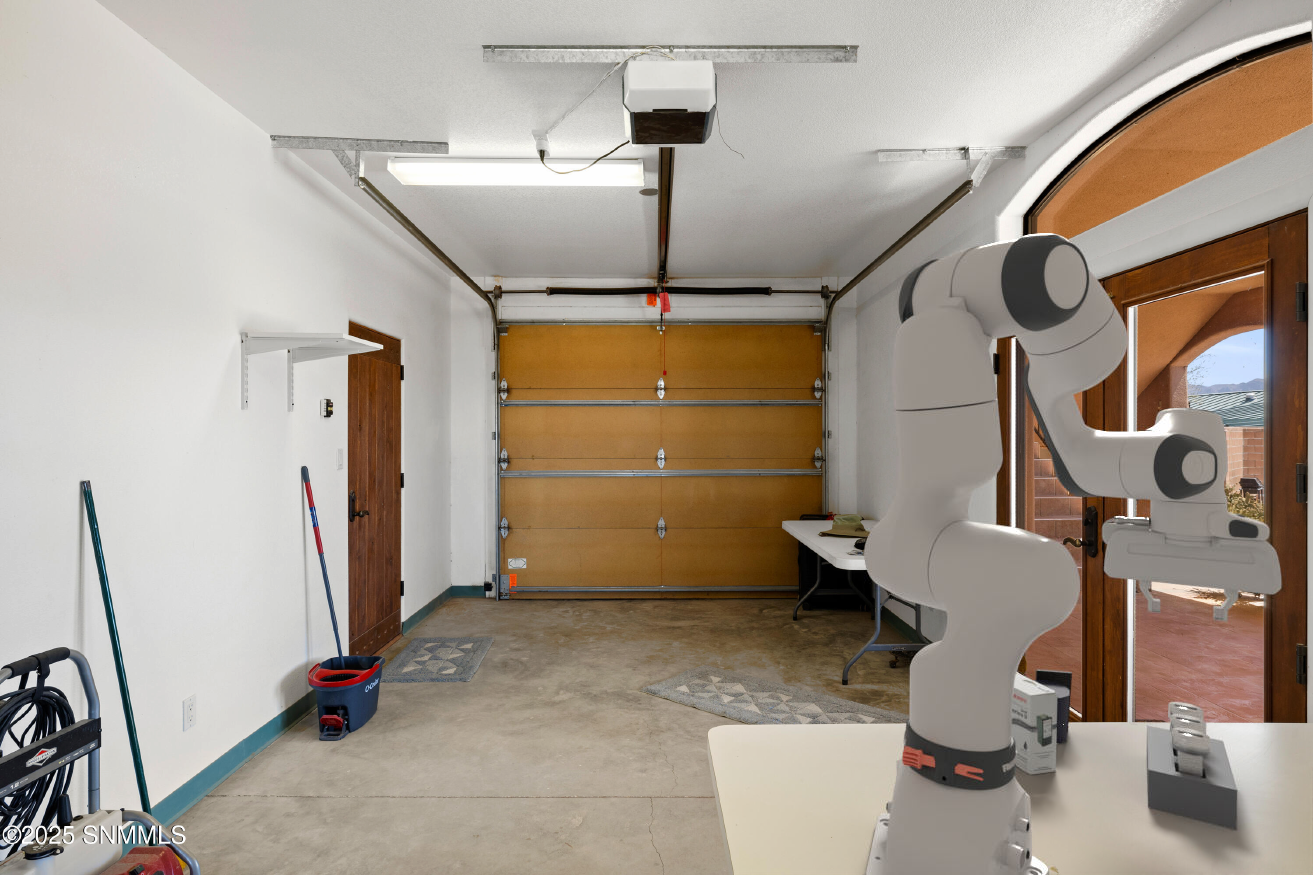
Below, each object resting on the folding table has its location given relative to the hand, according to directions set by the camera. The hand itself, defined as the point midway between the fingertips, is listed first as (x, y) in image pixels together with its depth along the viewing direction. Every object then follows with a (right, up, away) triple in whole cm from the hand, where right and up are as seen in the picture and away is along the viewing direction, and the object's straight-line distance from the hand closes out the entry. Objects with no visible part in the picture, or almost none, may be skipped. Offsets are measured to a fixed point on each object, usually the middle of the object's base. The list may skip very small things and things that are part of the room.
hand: (1186, 615), depth 99 cm
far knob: (0, -18, 0) cm, 18 cm away
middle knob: (-3, -18, -4) cm, 19 cm away
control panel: (-3, -23, -4) cm, 24 cm away
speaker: (-12, -23, +12) cm, 29 cm away
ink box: (-22, -23, +4) cm, 32 cm away
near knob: (-6, -18, -9) cm, 21 cm away
